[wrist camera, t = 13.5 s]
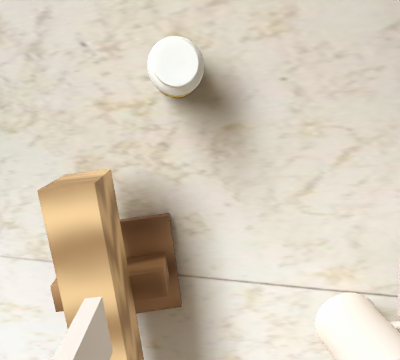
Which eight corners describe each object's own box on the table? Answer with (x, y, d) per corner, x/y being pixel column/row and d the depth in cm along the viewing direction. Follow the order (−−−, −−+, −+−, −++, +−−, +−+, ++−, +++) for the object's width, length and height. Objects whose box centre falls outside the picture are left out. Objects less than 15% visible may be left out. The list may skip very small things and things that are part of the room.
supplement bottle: (163, 40, 38) (158, 17, 29) (207, 60, 39) (217, 44, 30) (144, 86, 39) (134, 79, 30) (188, 105, 40) (192, 104, 30)
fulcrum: (52, 228, 42) (31, 247, 36) (168, 213, 42) (167, 229, 36) (71, 318, 44) (55, 349, 38) (181, 302, 45) (182, 331, 39)
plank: (65, 174, 34) (37, 190, 28) (110, 168, 35) (94, 183, 28) (109, 396, 40) (95, 456, 33) (149, 390, 40) (143, 448, 33)
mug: (396, 280, 46) (472, 338, 34) (402, 336, 48) (475, 409, 36) (310, 299, 46) (356, 365, 34) (318, 355, 47) (365, 435, 36)
